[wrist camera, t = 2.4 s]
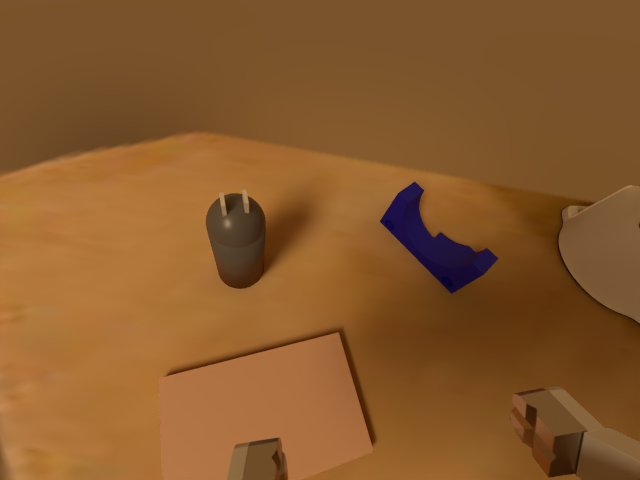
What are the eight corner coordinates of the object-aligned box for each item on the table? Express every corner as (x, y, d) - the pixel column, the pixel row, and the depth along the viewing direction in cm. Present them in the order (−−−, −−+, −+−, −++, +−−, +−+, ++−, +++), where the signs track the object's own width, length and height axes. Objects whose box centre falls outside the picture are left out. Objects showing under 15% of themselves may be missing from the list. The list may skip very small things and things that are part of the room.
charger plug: (259, 245, 34) (260, 170, 23) (266, 283, 32) (272, 220, 21) (215, 252, 32) (196, 175, 22) (221, 292, 30) (202, 229, 20)
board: (336, 334, 30) (338, 332, 29) (369, 450, 26) (373, 451, 25) (161, 379, 26) (158, 378, 25) (167, 528, 21) (163, 533, 21)
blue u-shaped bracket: (470, 273, 37) (505, 251, 32) (450, 294, 35) (483, 274, 30) (401, 206, 41) (422, 176, 35) (379, 222, 39) (398, 193, 33)
